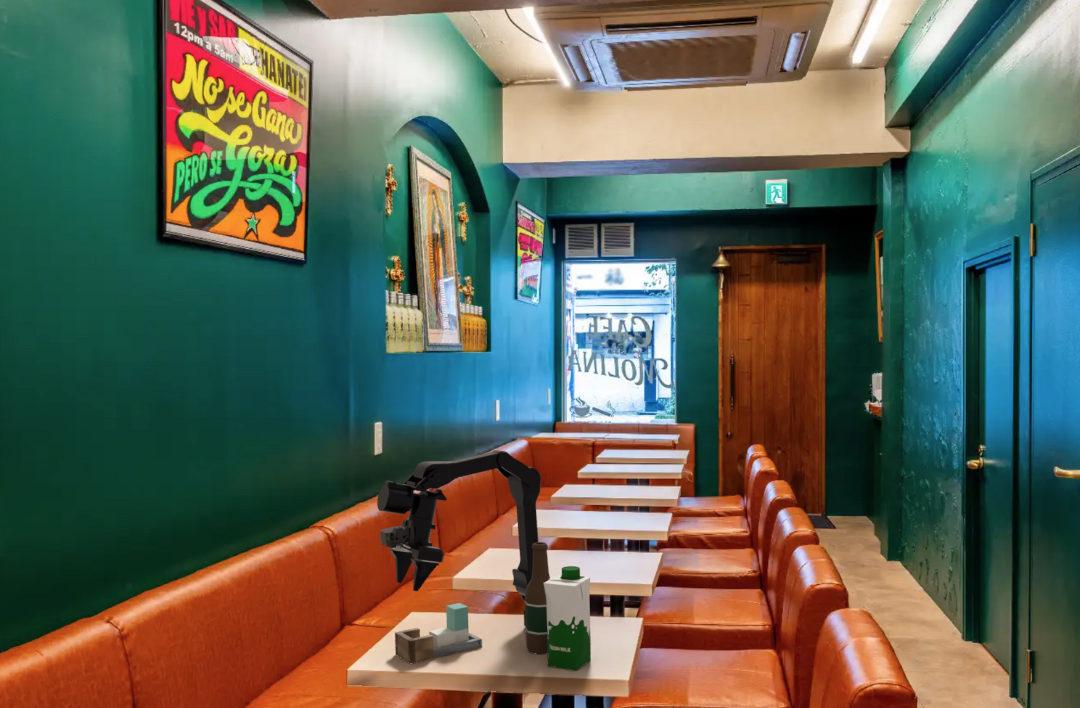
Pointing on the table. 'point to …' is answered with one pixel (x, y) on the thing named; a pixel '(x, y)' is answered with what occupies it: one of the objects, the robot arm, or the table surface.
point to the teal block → (452, 627)
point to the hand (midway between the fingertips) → (407, 586)
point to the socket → (413, 646)
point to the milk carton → (568, 619)
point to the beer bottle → (537, 602)
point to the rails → (458, 646)
